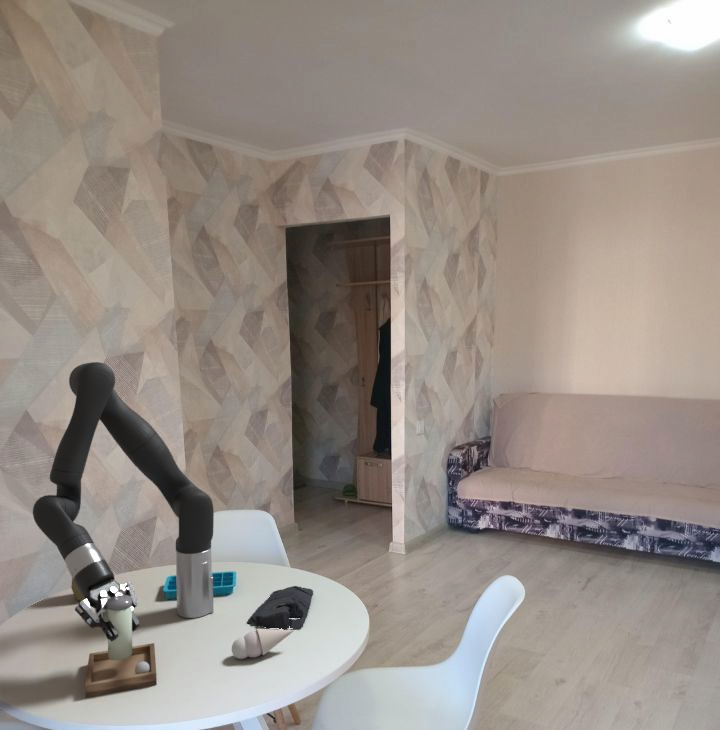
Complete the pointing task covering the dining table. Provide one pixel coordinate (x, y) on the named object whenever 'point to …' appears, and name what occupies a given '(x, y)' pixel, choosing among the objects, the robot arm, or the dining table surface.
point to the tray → (119, 671)
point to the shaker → (120, 626)
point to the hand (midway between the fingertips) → (125, 633)
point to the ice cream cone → (258, 642)
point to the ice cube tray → (221, 584)
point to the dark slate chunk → (283, 609)
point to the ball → (142, 668)
